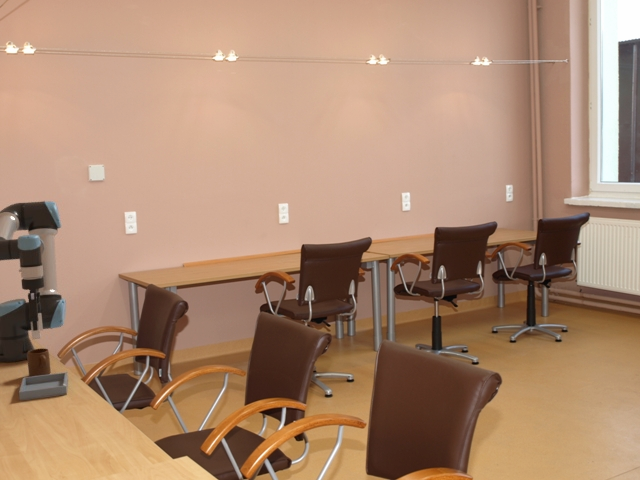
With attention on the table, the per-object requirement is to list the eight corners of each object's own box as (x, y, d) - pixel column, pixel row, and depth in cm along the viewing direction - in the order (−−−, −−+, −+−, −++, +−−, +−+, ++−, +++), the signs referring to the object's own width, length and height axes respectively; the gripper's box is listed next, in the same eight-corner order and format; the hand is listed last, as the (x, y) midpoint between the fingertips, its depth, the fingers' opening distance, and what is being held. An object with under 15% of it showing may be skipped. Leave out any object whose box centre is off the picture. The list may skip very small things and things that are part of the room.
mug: (57, 378, 262) (54, 353, 261) (35, 383, 258) (33, 357, 257) (47, 371, 272) (45, 347, 271) (26, 375, 268) (24, 351, 266)
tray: (24, 385, 255) (23, 377, 255) (67, 380, 260) (67, 372, 259) (19, 400, 239) (19, 392, 239) (66, 394, 244) (65, 386, 243)
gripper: (24, 273, 271) (29, 328, 274) (18, 284, 247) (23, 343, 250) (45, 271, 273) (50, 326, 276) (41, 281, 250) (46, 341, 252)
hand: (37, 334), depth 263 cm, fingers open, 13 cm apart
